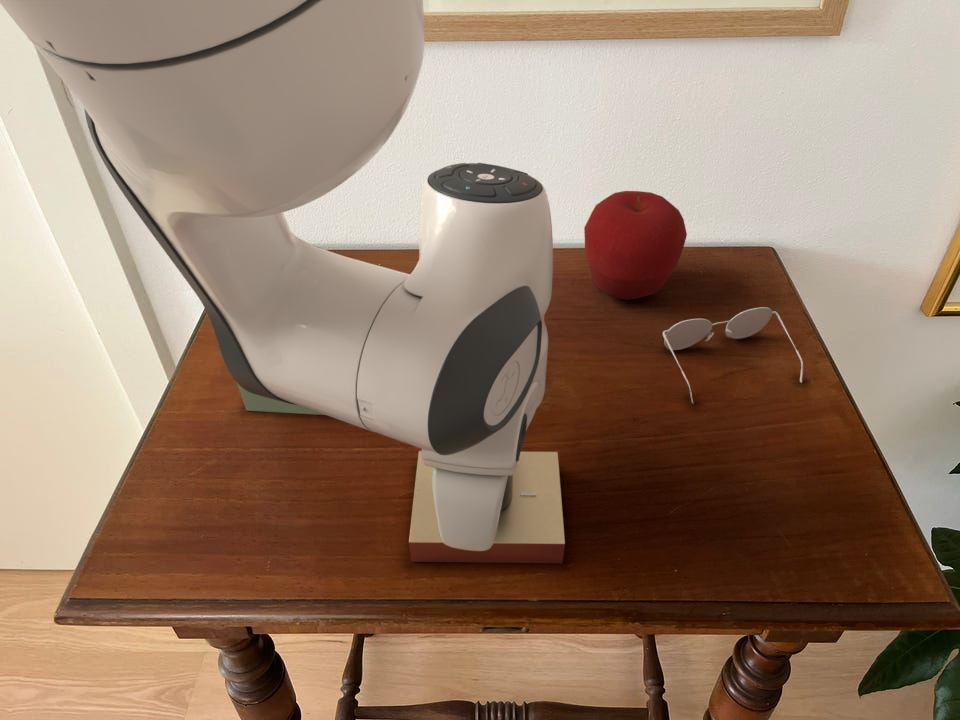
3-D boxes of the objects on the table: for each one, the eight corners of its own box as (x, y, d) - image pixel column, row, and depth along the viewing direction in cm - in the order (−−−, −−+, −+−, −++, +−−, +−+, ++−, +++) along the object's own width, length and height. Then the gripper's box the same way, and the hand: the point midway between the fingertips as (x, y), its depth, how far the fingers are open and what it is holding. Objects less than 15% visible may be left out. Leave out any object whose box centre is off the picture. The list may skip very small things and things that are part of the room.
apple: (611, 331, 85) (625, 233, 76) (560, 278, 93) (568, 184, 84) (693, 303, 89) (716, 207, 80) (638, 255, 97) (653, 162, 88)
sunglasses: (765, 333, 84) (780, 303, 80) (801, 389, 79) (819, 361, 75) (654, 353, 82) (664, 323, 78) (684, 412, 77) (696, 384, 73)
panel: (562, 563, 62) (565, 542, 60) (411, 562, 62) (408, 541, 60) (555, 472, 69) (557, 450, 67) (420, 470, 70) (418, 449, 68)
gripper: (468, 284, 62) (471, 399, 71) (415, 470, 47) (427, 584, 56) (542, 291, 61) (535, 405, 70) (511, 481, 46) (508, 595, 55)
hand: (487, 486), depth 63 cm, fingers closed on knob, 4 cm apart
